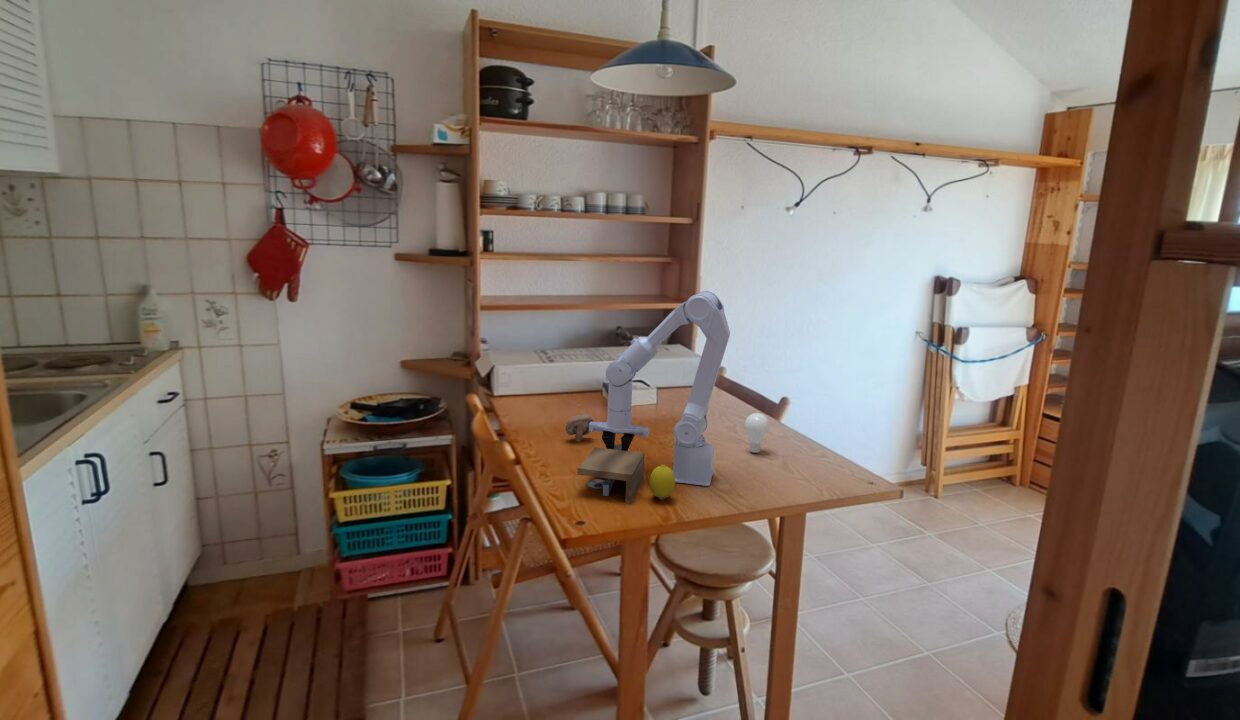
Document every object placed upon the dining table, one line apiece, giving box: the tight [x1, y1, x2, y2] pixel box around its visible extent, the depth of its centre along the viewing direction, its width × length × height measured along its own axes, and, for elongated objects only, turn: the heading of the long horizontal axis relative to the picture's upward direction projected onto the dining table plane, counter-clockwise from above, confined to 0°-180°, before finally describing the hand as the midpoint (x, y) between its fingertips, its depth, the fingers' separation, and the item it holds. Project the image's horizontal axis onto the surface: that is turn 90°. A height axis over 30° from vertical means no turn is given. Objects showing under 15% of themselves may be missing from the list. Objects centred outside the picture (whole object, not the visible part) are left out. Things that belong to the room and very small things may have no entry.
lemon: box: [649, 464, 676, 501], centre depth 139 cm, size 6×6×8 cm
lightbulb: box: [744, 412, 770, 454], centre depth 170 cm, size 6×6×11 cm
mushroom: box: [564, 413, 595, 442], centre depth 174 cm, size 8×6×8 cm
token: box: [587, 478, 605, 491], centre depth 146 cm, size 4×4×1 cm
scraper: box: [602, 443, 622, 497], centre depth 150 cm, size 2×20×5 cm, turn 172°
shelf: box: [577, 446, 645, 504], centre depth 144 cm, size 12×14×6 cm
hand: (617, 461), depth 157 cm, fingers closed on scraper, 2 cm apart
